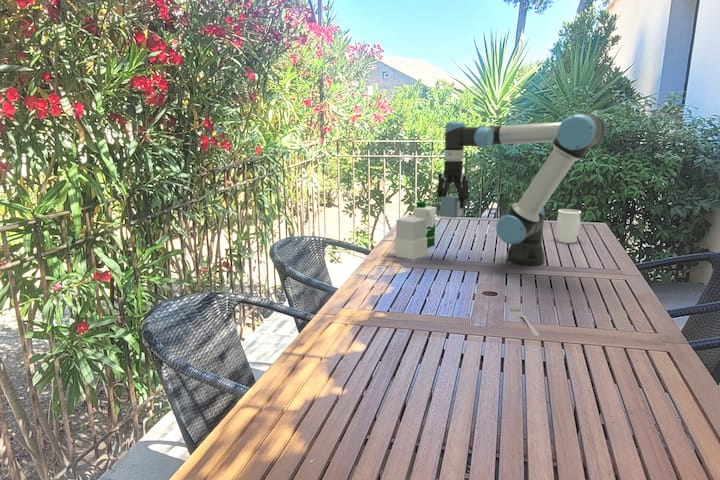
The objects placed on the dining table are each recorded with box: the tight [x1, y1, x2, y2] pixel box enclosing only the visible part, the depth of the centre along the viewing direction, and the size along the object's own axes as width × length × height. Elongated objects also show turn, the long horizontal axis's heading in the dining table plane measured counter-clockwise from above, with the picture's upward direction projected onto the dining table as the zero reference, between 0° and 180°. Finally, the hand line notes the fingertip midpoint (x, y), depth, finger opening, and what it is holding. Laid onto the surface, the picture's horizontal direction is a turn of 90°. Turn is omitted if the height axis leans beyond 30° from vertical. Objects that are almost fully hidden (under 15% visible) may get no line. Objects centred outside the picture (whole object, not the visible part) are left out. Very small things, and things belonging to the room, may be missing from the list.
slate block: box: [439, 194, 465, 219], centre depth 216 cm, size 7×7×8 cm
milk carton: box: [413, 201, 437, 249], centre depth 236 cm, size 9×9×20 cm
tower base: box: [393, 237, 428, 260], centre depth 221 cm, size 10×10×8 cm
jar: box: [556, 208, 582, 244], centre depth 244 cm, size 11×10×15 cm
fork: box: [509, 303, 540, 337], centre depth 151 cm, size 3×24×2 cm, turn 2°
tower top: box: [395, 216, 426, 241], centre depth 219 cm, size 9×9×8 cm
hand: (452, 214), depth 217 cm, fingers closed on slate block, 7 cm apart
